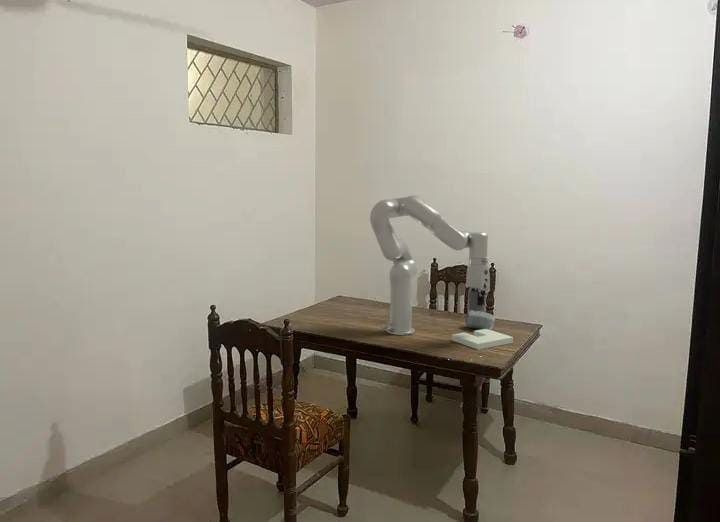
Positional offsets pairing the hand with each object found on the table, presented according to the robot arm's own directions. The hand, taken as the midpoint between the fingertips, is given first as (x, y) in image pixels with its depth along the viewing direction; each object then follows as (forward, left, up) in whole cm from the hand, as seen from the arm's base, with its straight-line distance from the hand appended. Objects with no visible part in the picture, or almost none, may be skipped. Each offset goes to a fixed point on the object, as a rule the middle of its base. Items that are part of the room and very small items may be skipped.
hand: (476, 303), depth 236 cm
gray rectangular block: (-1, 0, -3) cm, 3 cm away
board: (0, -4, -16) cm, 16 cm away
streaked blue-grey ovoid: (+14, +12, -16) cm, 24 cm away
